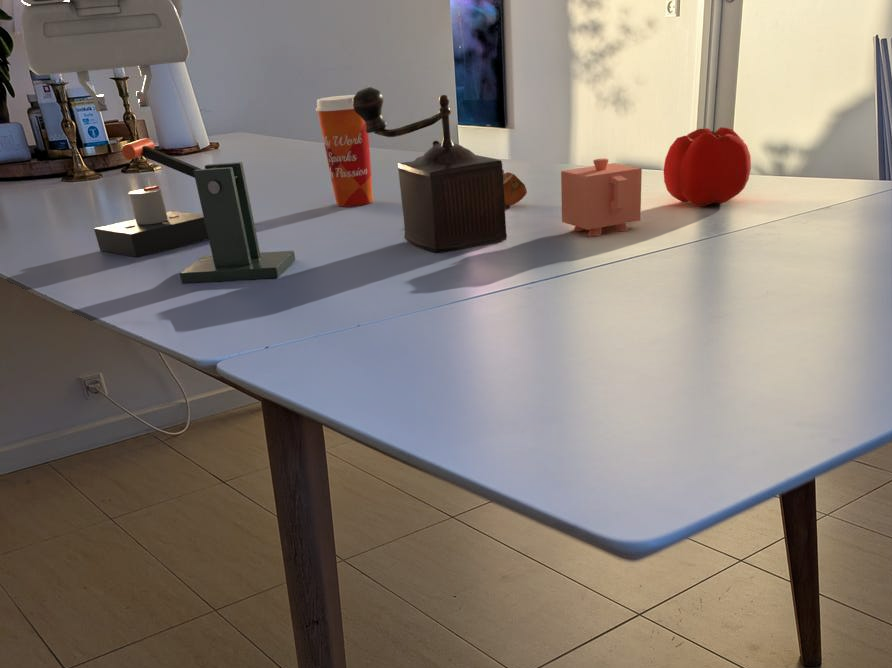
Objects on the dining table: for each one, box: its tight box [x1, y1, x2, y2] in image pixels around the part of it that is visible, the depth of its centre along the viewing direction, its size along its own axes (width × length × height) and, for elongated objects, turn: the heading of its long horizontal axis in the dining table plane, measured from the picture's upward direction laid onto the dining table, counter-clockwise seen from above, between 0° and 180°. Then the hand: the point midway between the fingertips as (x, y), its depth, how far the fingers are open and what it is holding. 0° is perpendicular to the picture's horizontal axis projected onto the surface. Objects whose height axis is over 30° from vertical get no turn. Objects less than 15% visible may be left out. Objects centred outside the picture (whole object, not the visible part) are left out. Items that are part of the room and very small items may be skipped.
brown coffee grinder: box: [353, 86, 508, 254], centre depth 114 cm, size 16×11×18 cm
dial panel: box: [93, 210, 209, 258], centre depth 132 cm, size 13×10×3 cm
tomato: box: [663, 126, 752, 207], centre depth 126 cm, size 11×12×9 cm
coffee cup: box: [315, 94, 374, 208], centre depth 145 cm, size 8×8×15 cm
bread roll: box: [503, 169, 528, 207], centre depth 136 cm, size 8×7×5 cm
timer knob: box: [128, 185, 168, 225], centre depth 129 cm, size 4×4×4 cm
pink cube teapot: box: [560, 158, 643, 237], centre depth 117 cm, size 8×12×8 cm, turn 24°
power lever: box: [121, 137, 238, 183], centre depth 108 cm, size 12×6×2 cm, turn 86°
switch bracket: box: [179, 161, 296, 284], centre depth 111 cm, size 12×9×12 cm
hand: (123, 109), depth 123 cm, fingers open, 4 cm apart
